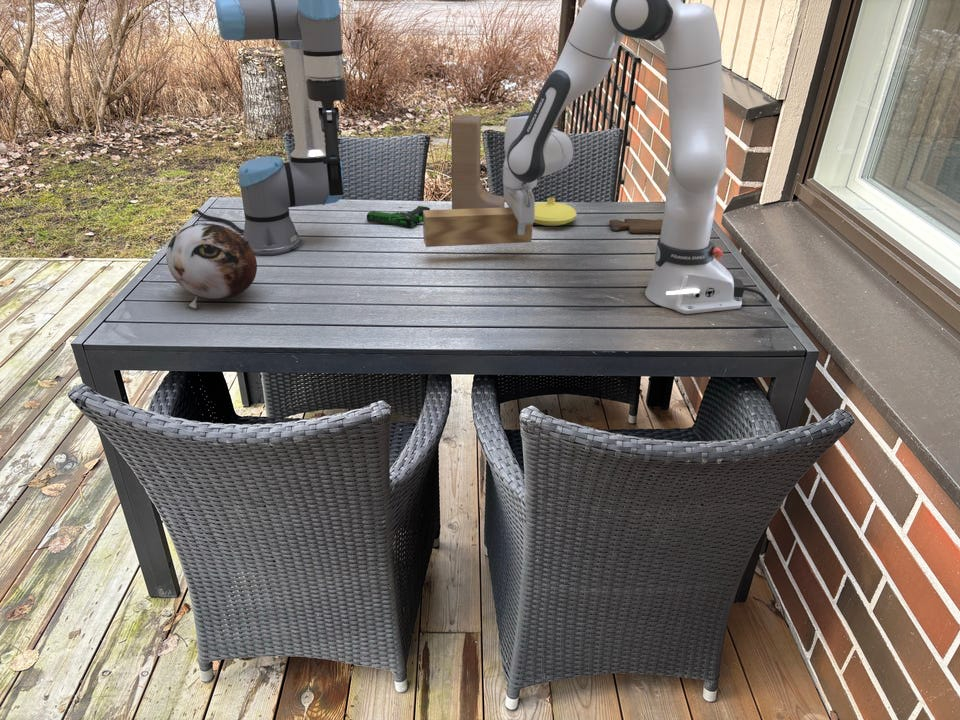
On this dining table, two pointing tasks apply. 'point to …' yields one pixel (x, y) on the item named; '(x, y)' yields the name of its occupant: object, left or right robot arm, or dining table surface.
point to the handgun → (399, 217)
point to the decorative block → (469, 166)
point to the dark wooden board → (637, 225)
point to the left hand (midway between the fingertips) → (335, 185)
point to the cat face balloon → (211, 261)
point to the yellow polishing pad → (553, 213)
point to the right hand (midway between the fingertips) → (517, 229)
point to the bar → (472, 227)
